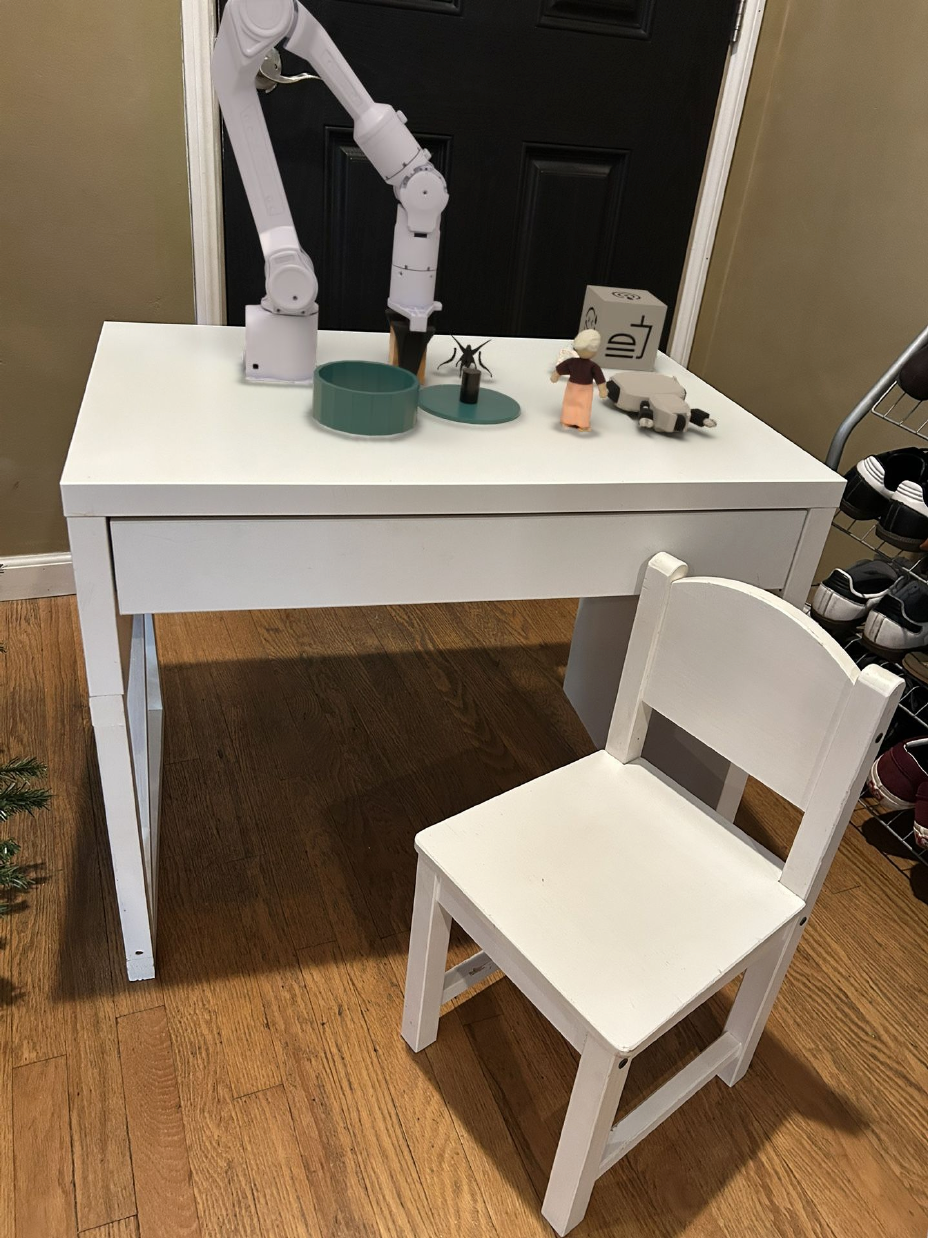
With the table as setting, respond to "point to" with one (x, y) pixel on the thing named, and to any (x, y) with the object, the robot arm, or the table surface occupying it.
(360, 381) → the pot
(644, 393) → the robot toy
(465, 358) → the creature
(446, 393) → the pot lid
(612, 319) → the icon cube
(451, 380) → the table surface
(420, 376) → the maple block
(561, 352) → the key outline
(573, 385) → the grandmother figurine
